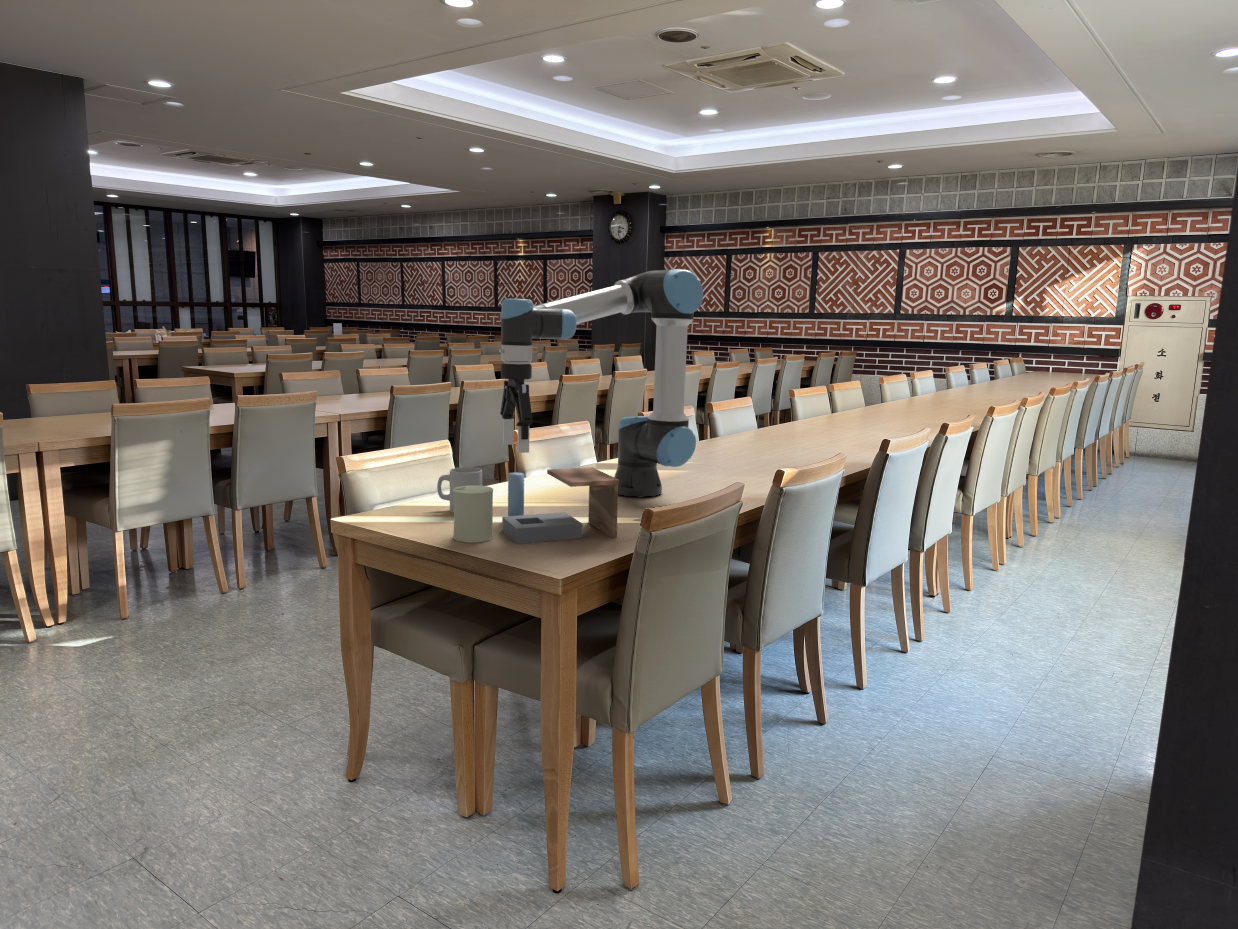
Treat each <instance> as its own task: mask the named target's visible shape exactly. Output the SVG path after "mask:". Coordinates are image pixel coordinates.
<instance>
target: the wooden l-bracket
mask: <svg viewBox="0 0 1238 929" xmlns="http://www.w3.org/2000/svg"><path fill="white" fill-rule="evenodd" d="M546 471H547V472H546V474H548V476H551V477H552V478H554V479H556V480H558V481H560V482H562V483H564V484H565V485H566V486H569V487H570V488H572V487H573V488H574V487H575V488H576V487H588V523H590V524H591V525H592V526H594V527H595V528H597V529H598V530H600V532H603V533H604V534H606V535H608V536H609V537H611V538H612V539H614V538H617V536H618V535H617V534H618V507H619V506H618V504H619V502H618V501H619V500H618V499H619V495H618V484H619V480H618V479H616V478H614V476H612V475H609V474H608V473H606V472H603V471H602V470H598V469H597V468H595V467H573V468H553V469H552V468H551V469H547V470H546Z"/></svg>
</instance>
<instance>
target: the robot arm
mask: <svg viewBox="0 0 1238 929" xmlns="http://www.w3.org/2000/svg"><path fill="white" fill-rule="evenodd" d="M703 300H704V288H703V286H702V282H701V281H700V279H699V278H698V277H697V275H696V274H695V273H694V272H693V271H690V270H687V269H680V268H675V269H674V268H672V269H662V270H659V269H658V270H657V269H656V270H647V271H646V272H642V273H639V274H636V275H633V276H630V277H627V278H625V279H620V280H618V281H616V282H615V283H614V284H613V285H612V286H608V287H604V288H600V289H597V290H596V289H595V290H593V291H589V292H588V291H587V292H585V293H581V294H577V295H573V296H569V297H566V298H561V299H556V300H552V301H549V302H545V303H541V304H537V305H534V304H533V300H532V299H526V298H505V299H503V300H502V302H501V309H500V310H501V311H500V321H501V322H500V326H501V328H500V329H501V331H500V334H501V335H500V338H501V339H500V340H501V341H500V344H501V347H500V348H499V349H498V352H499V353H500V359H501V361H502V362H503V363H501V364H500V377H501V379H503V392H502V399H501V400H502V401H501V406H500V411H499V412H500V416H502V417H501V418H502V445H507V446H508V445H514V443H515V441H514V440H515V419H516V415H515V410H516V414H517V421H518V422H517V423H516V427H517V454H525V453H526V454H528V453H530V427H531V425H533V423H534V419H533V413H532V406H531V405H532V404H531V398H530V397H531V396H530V385H529V384H527V383H525V380H531V379H532V378H533V376H532V375H533V374H532V371H533V370H532V367H533V366H532V364H530V363H531V362H532V361H533V340H534V339H543V340H544V339H546V340H560V341H561V340H567V339H568V340H569V339H572V338H573V336H574V335H575V333H576V330H577V325H579V324H582V323H585V322H590V321H594V320H597V319H601V318H605V317H608V316H612V315H616V314H619V313H621V314H622V315H629V314H634V313H651V321H652V322H653V323H654V324H655V326H656V327H655V328H656V329H655V330H656V331H655V332H656V333H655V335H656V336H655V357H654V359H655V360H654V362H655V363H654V378H653V379H654V382H653V384H654V385H653V407H652V408H653V409H652V412H651V413H650V414H649V415H644V416H643V415H640V416H624V417H622V418H620V420H619V424H618V429H617V432H618V445H617V446H618V448H617V450H618V451H617V468H616V471H615V474H614V476H613V477H614V478H616V479H618V480H619V484H618V494H619V495H618V496H620V495H624V496H623V497H626V496H653V497H656V496H655V495H658V496H660V495H661V493H662V492H663V486H662V482H661V479H660V475H659V470H658V465H661V466H664V467H672V468H678V467H682V466H683V465H686V463H688V461H689V459H691V458H692V457H693V456H694V453H695V451H696V446H697V438H696V435H695V433H694V432H693V430H692V429H690V428H689V427H690V426H689V425H690V424H689V421H690V419H689V417H688V416H687V415H686V414H685V411H684V410H685V393H686V390H685V389H686V365H687V348H688V347H687V346H688V345H687V344H688V327H689V326H690V324H692V323H693V321H694V313H695V312H696V311H698V310H699V307H701V305H702V303H703ZM659 494H660V495H659ZM662 494H663V493H662Z"/></svg>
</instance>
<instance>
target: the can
mask: <svg viewBox="0 0 1238 929" xmlns="http://www.w3.org/2000/svg"><path fill="white" fill-rule="evenodd" d="M453 494H454V513H453V537H452V539H454V541H457V542H459V543H468V544H471V543H472V544H473V543H475V544H478V543H484V542H489V541H491V540H493V539H494V531H493V530H494V528H493V527H494V526H493V525H494V524H493V523H494V522H493V519H494V518H493V515H494V514H493V512H494V510H493V506H494V505H493V504H494V499H493V498H494V497H493V496H494V488H493V487H491V486H488V485H482V486H480V485H468V486H460V487H456V488H454V489H453Z"/></svg>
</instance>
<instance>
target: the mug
mask: <svg viewBox="0 0 1238 929" xmlns="http://www.w3.org/2000/svg"><path fill="white" fill-rule="evenodd" d="M444 481H447V482H449V493H448V494H447V493H446V494H445V493H444V492H443V490H442V484H443V482H444ZM436 485H437V487H436V489H437V495H438V496H439V498H440V499H441V500H444V501H448V502H449V511H450V513H452V514H454V494H453V489H454V488H456V487H460V486H468V485H480V486H483V470H482V469H481V468H479V467H471V466H469V467H468V466H465V467H464V466H463V467H462V466H461V467H454V468H451V469H450V470H449V473H447V474H442V475H441V476H440V477H438V480H437V484H436Z"/></svg>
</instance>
